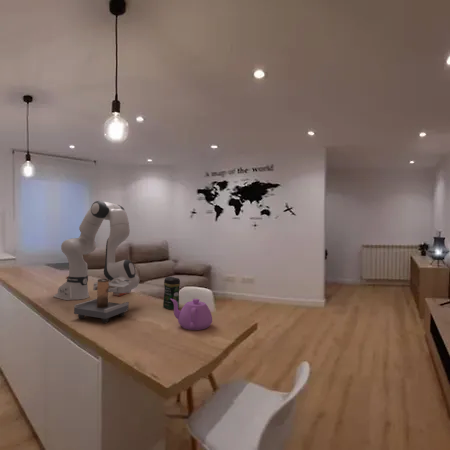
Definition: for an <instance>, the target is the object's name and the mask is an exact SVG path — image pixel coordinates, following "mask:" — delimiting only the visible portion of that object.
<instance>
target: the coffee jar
mask: <svg viewBox="0 0 450 450" xmlns="http://www.w3.org/2000/svg"><path fill="white" fill-rule="evenodd" d="M163 287H164V294H163V300H162V301H163V303H162V307H163V308H165V309H168V310H174V304H173V302H172V300H171V299H174V300H176V301H177V304H178V309H179V307H180V287H181V281H180V279H179V277H175V276H167V277H165V278H164V281H163Z"/></svg>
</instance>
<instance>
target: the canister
mask: <svg viewBox="0 0 450 450" xmlns="http://www.w3.org/2000/svg"><path fill="white" fill-rule="evenodd" d="M97 282H98V285H97V290H96V299H97V307H99V308H103V307H108V302H109V292H108V289H109V282H110V280H109V279H107V278H100V279H97Z"/></svg>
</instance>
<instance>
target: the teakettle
mask: <svg viewBox="0 0 450 450" xmlns="http://www.w3.org/2000/svg"><path fill="white" fill-rule="evenodd" d="M171 300H172V302H173V304H174V309H173V315H174V317H175V319H177V321H178V322H177V323H178V324H179V325H180V327H181V328H183V329H185V330H190V331H191V330H192V331H200V330H205V329H208V328H209V327H210V326H211V325H212V323H213V315H212V312H211V310H210V308H209V306H208V305H207V303H206V302H204V301H200V299H199V298H192V300H191V301H187V302H186V303H184V305H183V306H182V308H181V309H179V308H178V304H177V301H176V300H174V299H171Z"/></svg>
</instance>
